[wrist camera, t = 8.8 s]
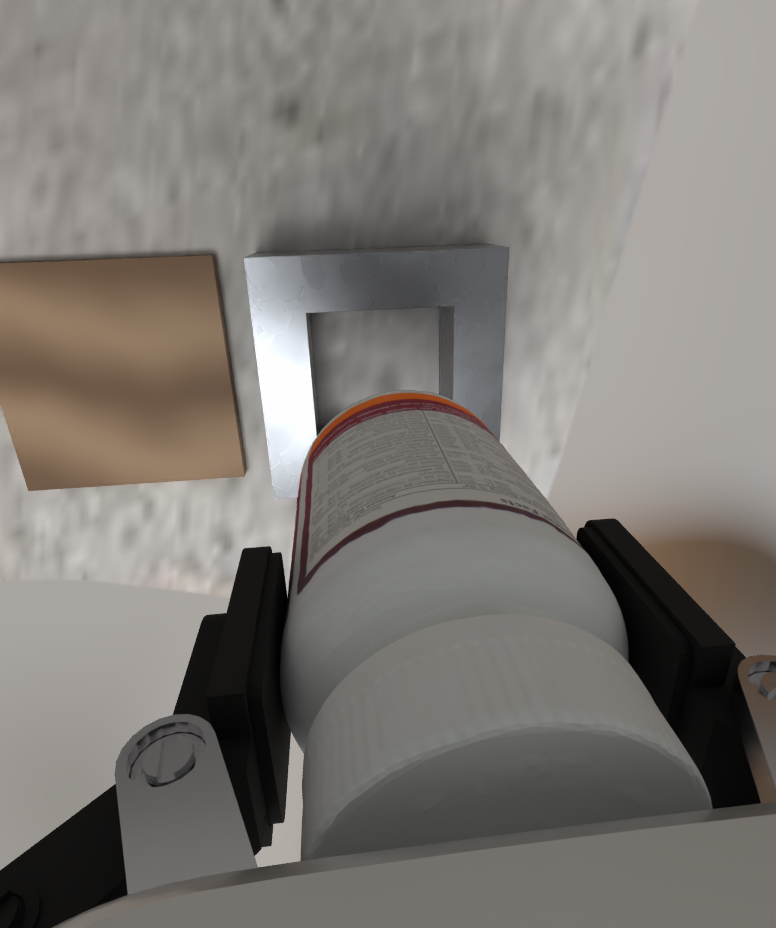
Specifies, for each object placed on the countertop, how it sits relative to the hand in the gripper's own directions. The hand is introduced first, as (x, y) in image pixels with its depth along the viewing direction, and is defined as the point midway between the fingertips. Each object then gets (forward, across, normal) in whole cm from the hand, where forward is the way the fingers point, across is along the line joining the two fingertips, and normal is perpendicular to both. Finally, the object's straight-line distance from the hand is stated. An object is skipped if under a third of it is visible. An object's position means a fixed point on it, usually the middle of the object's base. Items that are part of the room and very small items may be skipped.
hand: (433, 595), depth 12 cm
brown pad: (+21, +13, 0) cm, 25 cm away
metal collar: (+21, -1, 0) cm, 21 cm away
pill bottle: (+6, 0, 0) cm, 6 cm away
